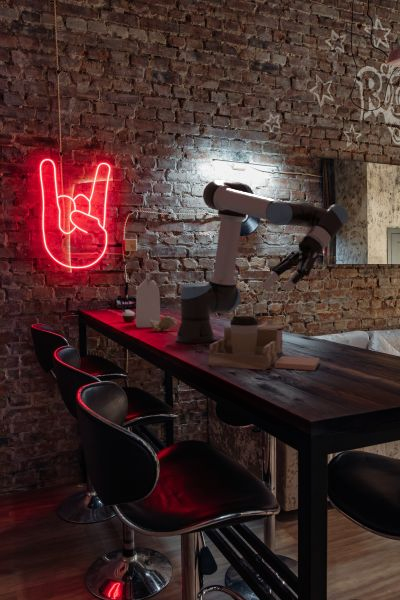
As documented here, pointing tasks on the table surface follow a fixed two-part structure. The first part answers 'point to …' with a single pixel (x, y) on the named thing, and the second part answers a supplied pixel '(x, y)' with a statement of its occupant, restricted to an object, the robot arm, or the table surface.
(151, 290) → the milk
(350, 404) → the table surface
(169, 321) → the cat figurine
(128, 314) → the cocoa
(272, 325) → the teacup with lid
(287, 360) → the terracotta tile
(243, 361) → the frame
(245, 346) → the coffee cup
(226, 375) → the table surface
